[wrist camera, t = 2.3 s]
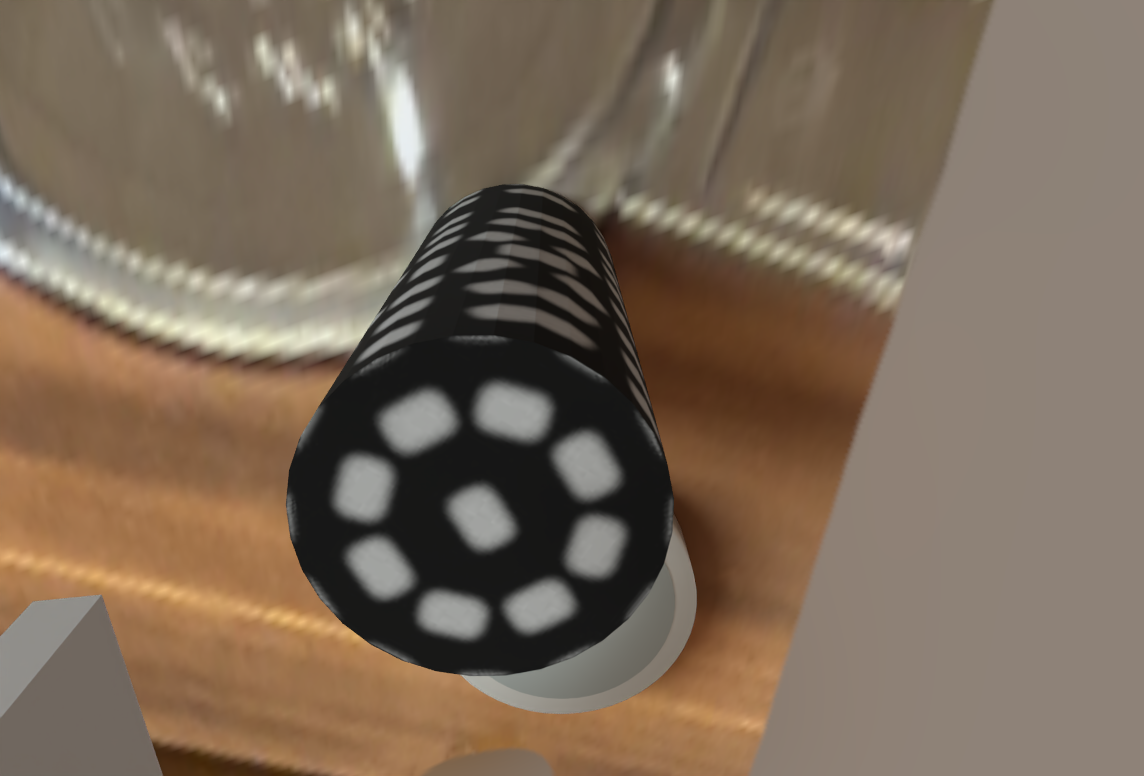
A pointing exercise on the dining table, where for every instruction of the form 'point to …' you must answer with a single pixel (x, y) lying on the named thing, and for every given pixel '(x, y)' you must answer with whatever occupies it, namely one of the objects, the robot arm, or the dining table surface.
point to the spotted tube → (488, 451)
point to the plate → (613, 650)
